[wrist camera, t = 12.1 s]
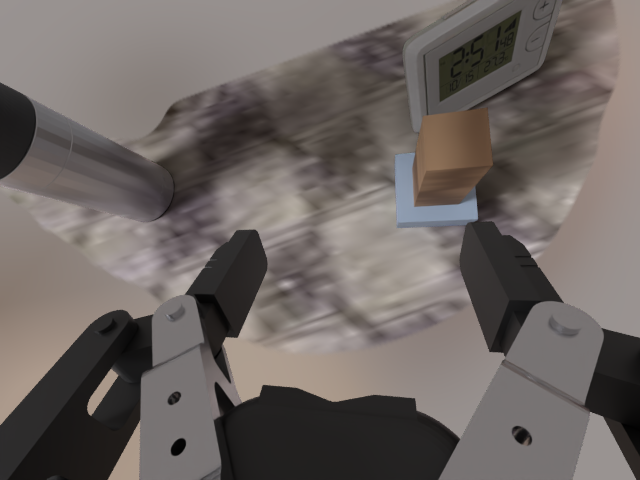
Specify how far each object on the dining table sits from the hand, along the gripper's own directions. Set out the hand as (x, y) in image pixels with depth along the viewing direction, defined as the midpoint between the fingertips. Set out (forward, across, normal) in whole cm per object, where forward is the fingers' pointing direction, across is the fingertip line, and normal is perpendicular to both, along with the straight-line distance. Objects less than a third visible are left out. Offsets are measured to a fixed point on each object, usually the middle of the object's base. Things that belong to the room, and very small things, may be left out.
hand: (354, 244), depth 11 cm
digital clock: (+32, -12, +1) cm, 34 cm away
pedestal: (+22, -7, +10) cm, 26 cm away
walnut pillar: (+20, -7, +8) cm, 23 cm away
